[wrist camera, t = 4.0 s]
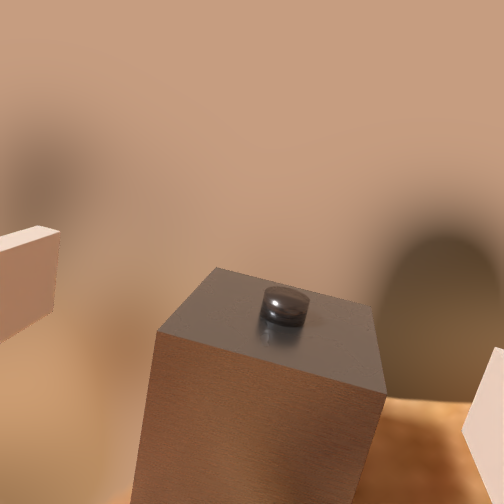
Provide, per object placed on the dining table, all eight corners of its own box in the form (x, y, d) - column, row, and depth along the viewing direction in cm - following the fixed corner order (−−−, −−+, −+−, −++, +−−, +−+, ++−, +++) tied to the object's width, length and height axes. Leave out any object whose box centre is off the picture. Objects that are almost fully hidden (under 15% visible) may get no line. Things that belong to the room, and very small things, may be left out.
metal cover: (191, 399, 32) (219, 249, 29) (331, 440, 31) (376, 288, 28) (129, 510, 23) (160, 305, 19) (327, 576, 21) (395, 368, 18)
